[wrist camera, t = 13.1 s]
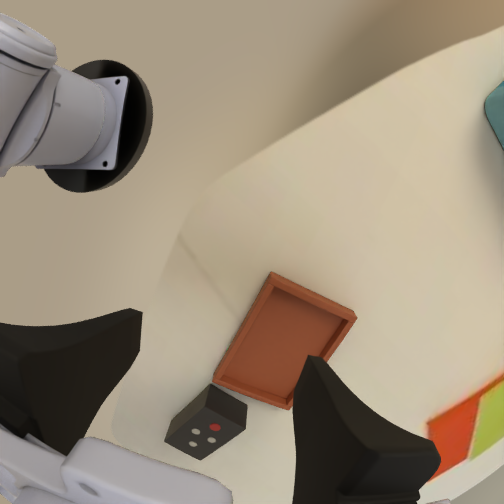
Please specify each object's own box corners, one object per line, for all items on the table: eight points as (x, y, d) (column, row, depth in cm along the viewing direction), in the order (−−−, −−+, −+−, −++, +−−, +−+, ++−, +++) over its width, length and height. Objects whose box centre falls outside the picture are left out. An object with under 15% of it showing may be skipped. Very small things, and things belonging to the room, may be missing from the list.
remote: (205, 439, 25) (200, 461, 22) (171, 420, 25) (163, 442, 22) (247, 405, 24) (246, 429, 21) (210, 383, 23) (204, 407, 20)
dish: (287, 401, 24) (288, 410, 23) (213, 373, 23) (211, 381, 22) (353, 310, 21) (357, 317, 20) (271, 271, 21) (271, 276, 20)
